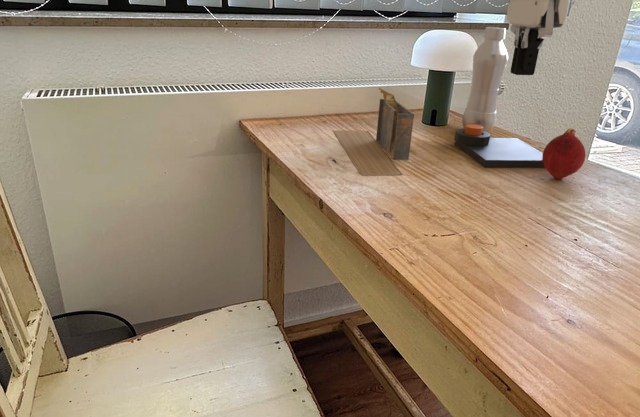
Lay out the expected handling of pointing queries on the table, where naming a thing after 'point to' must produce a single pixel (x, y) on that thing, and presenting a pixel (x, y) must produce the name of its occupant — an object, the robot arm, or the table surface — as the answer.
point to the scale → (498, 151)
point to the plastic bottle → (486, 80)
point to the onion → (564, 155)
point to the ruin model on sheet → (381, 139)
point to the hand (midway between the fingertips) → (521, 73)
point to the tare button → (473, 129)
